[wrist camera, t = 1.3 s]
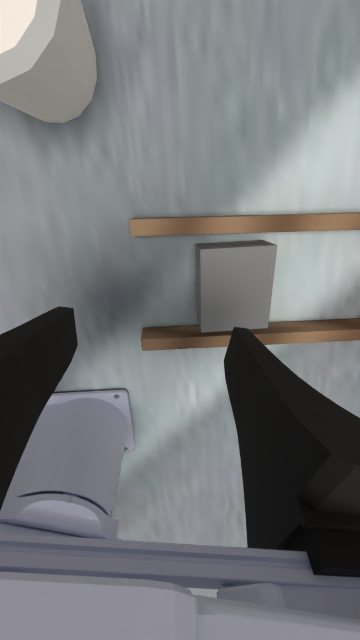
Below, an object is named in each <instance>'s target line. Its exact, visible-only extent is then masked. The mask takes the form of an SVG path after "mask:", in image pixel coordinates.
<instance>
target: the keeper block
mask: <svg viewBox="0 0 360 640" xmlns="http://www.w3.org/2000/svg"><path fill="white" fill-rule="evenodd" d="M276 251H277V245H275V244H272V243H269V242H266V241H263V240H255V241H238V242H220V243H203V244H196V290H197V319H198V322H199V326H200V329H201V333H202V332H217V331H231V330H233V328H234V327H241V328H247V329H260V328H268V322H269V313H270V304H271V295H272V286H273V277H274V269H275V260H276Z"/></svg>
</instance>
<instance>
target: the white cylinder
mask: <svg viewBox="0 0 360 640" xmlns="http://www.w3.org/2000/svg"><path fill="white" fill-rule="evenodd" d="M96 82H97V66H96V53H95V49H94V46H93V42H92V39H91V35H90V32H89V28H88V25H87V21H86V17H85V14H84V10H83V7H82V3H81V0H0V101H1V102H3V103H5V104H7V105H9V106H12V107H14V108H16V109H18V110H20V111H22V112H24V113H26V114H29V115H31V116H33V117H35V118H37V119H39V120H41V121H43V122H51V123H65V122H68V121H70V120H72V119H74V118H77V117H79V116H80V115H81V114H82V112H83V111H84V110H85V109H86V107H87V106H88V105H89V103H90V102H91V101H92V97H93V94H94V90H95V86H96Z"/></svg>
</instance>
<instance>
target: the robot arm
mask: <svg viewBox="0 0 360 640" xmlns="http://www.w3.org/2000/svg"><path fill="white" fill-rule="evenodd" d="M77 345H78V343H77V335H76V327H75V318H74V310H73V308H67V307H57V308H54V309H52V310H50V311H48V312H46V313H44V314H42V315H40V316H38V317H36V318H34V319H32V320H30V321H28V322H26V323H24V324H22V325H20V326H18V327H16V328H14V329H12V330H9V331H7V332H5V333H3V334H1V335H0V640H360V418H359V417H357V416H355V415H354V414H352V413H350V412H349V411H347V410H345V409H344V408H342V407H340V406H339V405H337V404H336V403H334V402H333V401H331V400H330V399H328V398H327V397H325V396H324V395H322V394H321V393H319V392H318V391H317V390H315V389H314V388H312V387H311V386H310V385H309V384H307V383H306V382H305V381H303V380H302V379H301V378H299V377H298V376H297V375H296V374H295V373H293V372H292V371H291V370H290V369H289V368H288V367H287V366H285V365H284V364H283V363H282V362H281V361H280V360H279V359H278V358H277V357H276V356H275V355H274V354H273V353H271V352H270V351H269V350H268V349H267V348H266V347H265V346H264V345H263V343H262V342H261V341H260V340H259V339H258V338H257V337H256V336H255V335H254V334H253V333H252V332H251V331H250V330H248V329H247V328H241V327H234V328H233V331H232V335H231V338H230V341H229V345H228V348H227V352H226V355H225V358H224V369H225V379H226V384H227V389H228V393H229V397H230V402H231V406H232V410H233V415H234V419H235V423H236V428H237V434H238V442H239V450H240V458H241V467H242V477H243V488H244V499H245V512H246V528H247V544H248V548H239V547H223V546H207V545H191V544H175V543H159V542H143V541H128V540H122V539H118V538H117V531H118V524H119V520H118V519H115V518H112V516H113V510H114V504H115V498H116V492H117V486H118V481H119V475H120V469H121V463H122V457H123V452H127V451H133V450H134V449H135V441H134V434H133V427H132V420H131V413H130V405H129V398H128V393H127V391H125V390H107V391H88V392H70V393H53V392H54V390H55V389H56V387H57V385H58V384H59V382H60V380H61V379H62V377H63V375H64V373H65V372H66V370H67V368H68V366H69V365H70V363H71V360H72V358H73V356H74V353H75V351H76V348H77ZM116 394H117V395H119V396H116ZM184 587H186V588H184ZM187 588H204V589H219V591H218V592H217V598H212V597H206V596H200V595H193V594H192V593H191V591H190V590H189V589H187Z"/></svg>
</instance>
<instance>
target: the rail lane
mask: <svg viewBox="0 0 360 640" xmlns="http://www.w3.org/2000/svg"><path fill="white" fill-rule="evenodd" d="M129 223H130V233H131V236H158V235H192V234H227V233H261V232H295V231H330V230H360V212H358V213H319V214H281V215H243V216H204V217H166V218H133V219H129ZM248 330H250V331H251V332H252V333H253V334H254V335H255V336H256V337H257V338H258V339H259V340H260V341H261V342H262V343H263V345H269V344H290V343H311V342H331V341H352V340H360V318H358V319H336V320H313V321H291V322H269V323H268V328H260V329H248ZM232 331H233V330H231V331H217V332H202V333H201V329H200V326H179V327H157V328H143V332H142V338H141V343H142V351H146V350H166V349H187V348H208V347H228V345H229V341H230V338H231V335H232Z"/></svg>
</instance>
